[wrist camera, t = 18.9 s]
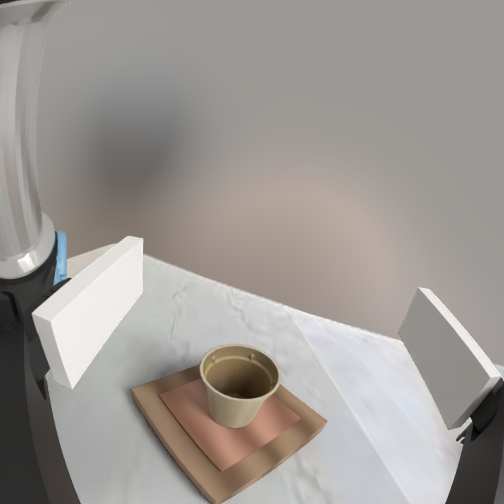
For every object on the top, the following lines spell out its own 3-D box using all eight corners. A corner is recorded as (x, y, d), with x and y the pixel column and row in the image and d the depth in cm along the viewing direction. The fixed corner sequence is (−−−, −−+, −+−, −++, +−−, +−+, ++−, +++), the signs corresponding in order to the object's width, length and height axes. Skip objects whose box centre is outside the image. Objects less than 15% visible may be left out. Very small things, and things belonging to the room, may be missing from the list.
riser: (214, 507, 22) (216, 500, 21) (133, 400, 35) (131, 386, 34) (320, 431, 35) (328, 419, 34) (236, 360, 48) (238, 346, 47)
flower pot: (244, 451, 28) (257, 414, 25) (182, 413, 32) (182, 371, 28) (277, 406, 36) (293, 365, 32) (222, 377, 39) (229, 334, 36)
